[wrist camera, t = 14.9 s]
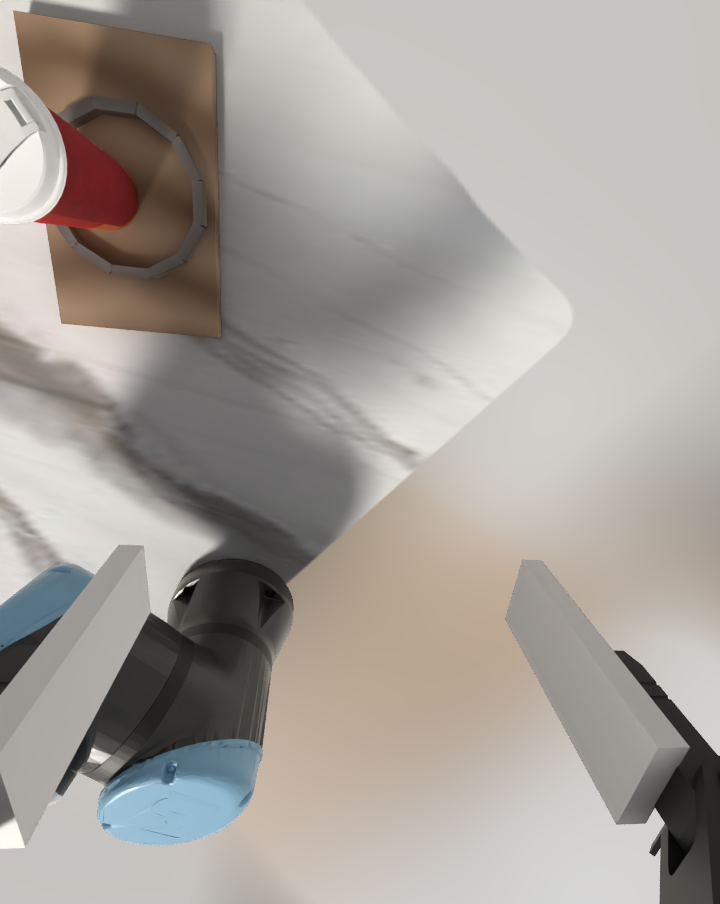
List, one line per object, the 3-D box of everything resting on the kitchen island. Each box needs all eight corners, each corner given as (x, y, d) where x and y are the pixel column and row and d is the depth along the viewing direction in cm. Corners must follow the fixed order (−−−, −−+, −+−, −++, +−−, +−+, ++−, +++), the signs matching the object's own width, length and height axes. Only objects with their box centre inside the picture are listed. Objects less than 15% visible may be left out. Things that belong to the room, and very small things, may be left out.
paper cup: (111, 119, 33) (-25, 11, 20) (170, 217, 36) (84, 178, 23) (31, 169, 34) (-150, 96, 21) (95, 261, 37) (-29, 248, 24)
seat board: (221, 336, 41) (214, 339, 39) (70, 322, 40) (53, 324, 37) (215, 53, 33) (206, 35, 31) (26, 22, 32) (1, 0, 29)
